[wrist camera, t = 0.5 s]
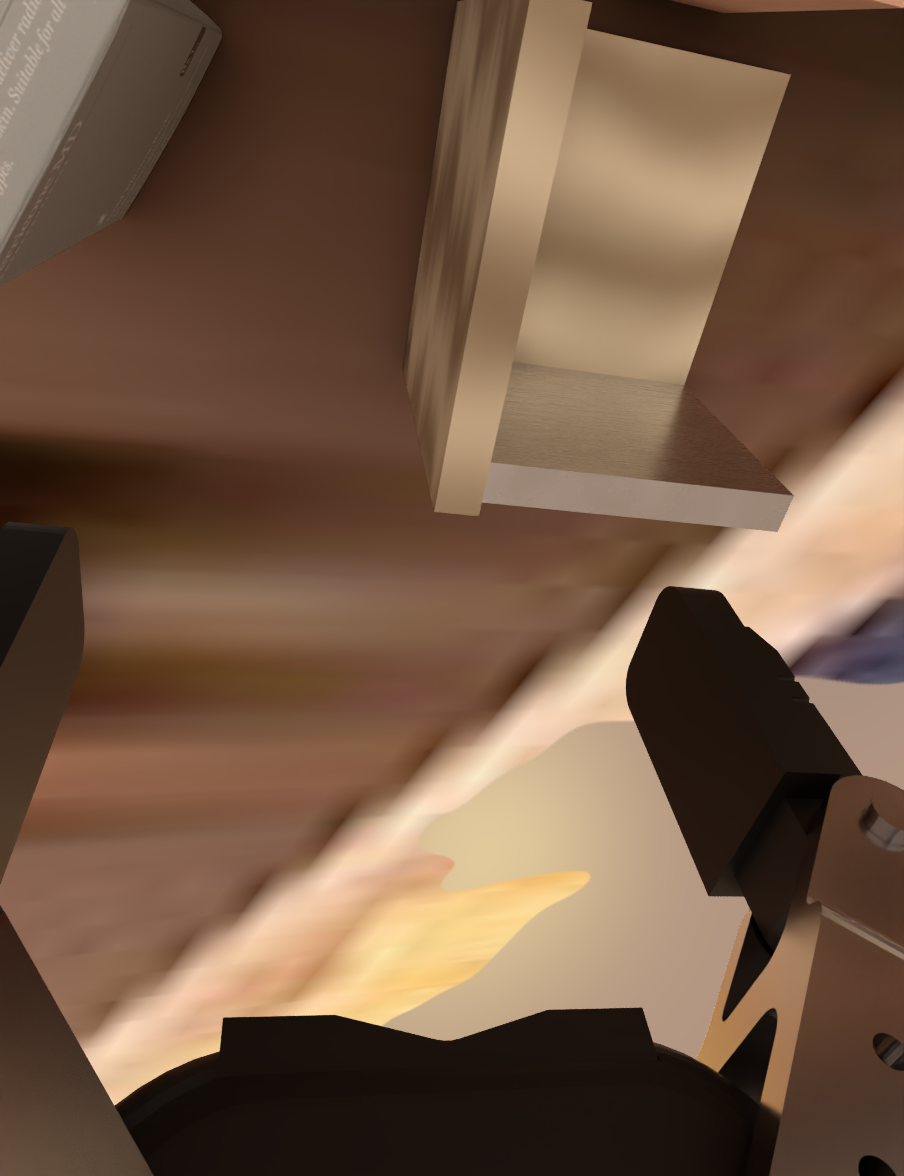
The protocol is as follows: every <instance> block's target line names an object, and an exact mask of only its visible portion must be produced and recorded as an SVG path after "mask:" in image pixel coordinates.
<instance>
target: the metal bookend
mask: <svg viewBox="0 0 904 1176" xmlns="http://www.w3.org/2000/svg"><path fill="white" fill-rule="evenodd" d="M793 496H794V495H793V494H792V493H791V492H790V491H789V490H788V489H787V488H786V487H785V486H784V485H783V484H782V483H781V482H780V481H779V480H778V479H777V478H776V477H775V476H774V475H773V474H772V473H771V472H770V471H769V470H768V469H767V468H766V467H765V466H764V465H763V464H762V463H761V462H760V461H759V460H758V459H757V458H756V457H755V456H754V455H753V454H752V453H751V452H750V451H749V450H748V449H747V448H746V447H745V446H744V445H743V444H742V443H741V442H740V441H739V440H738V439H737V438H736V437H735V436H734V435H733V434H732V433H731V432H730V431H729V430H728V429H727V428H726V427H725V426H724V425H723V424H722V423H721V422H720V421H719V420H718V419H717V418H716V417H715V416H714V415H713V414H712V413H711V412H710V411H709V410H708V409H707V408H706V407H705V406H704V405H703V404H702V403H701V401H700V400H699V399H698V398H697V397H696V396H695V395H694V394H693V393H692V392H691V391H690V390H689V389H688V388H687V387H686V386H685V385H680V384H673V383H665V382H658V381H651V380H643V379H636V378H629V377H621V376H614V375H607V374H599V373H592V372H585V371H577V370H570V369H563V368H555V367H548V366H541V365H533V364H526V363H519V362H513V364H512V368H511V373H510V377H509V382H508V386H507V391H506V396H505V400H504V405H503V409H502V414H501V418H500V423H499V427H498V432H497V436H496V441H495V445H494V450H493V454H492V459H491V463H490V468H489V472H488V477H487V481H486V486H485V490H484V495H483V499H482V502H483V503H493V504H503V505H513V506H524V507H534V508H544V509H554V510H564V511H574V512H584V513H594V514H604V515H614V516H624V517H634V518H644V519H655V520H665V521H675V522H685V523H695V524H705V525H715V526H725V527H735V528H745V529H755V530H765V531H775V532H778V529H779V527H780V525H781V523H782V521H783V518H784V516H785V514H786V512H787V510H788V507H789V505H790V503H791V501H792V499H793Z"/></svg>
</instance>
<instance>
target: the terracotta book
mask: <svg viewBox="0 0 904 1176" xmlns="http://www.w3.org/2000/svg"><path fill="white" fill-rule="evenodd" d="M671 1H675V2H680V3H684V4H688V5H692V6H696V7H701V8H705V9H709V10H713V11H717V12H722V13H742V12H778V11H814V10H849V9H885V8H904V0H671Z"/></svg>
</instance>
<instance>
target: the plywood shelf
mask: <svg viewBox="0 0 904 1176" xmlns="http://www.w3.org/2000/svg"><path fill="white" fill-rule="evenodd" d="M591 7H592V2H587V1H583V0H464V1H458V2H457V4H456V11H455V18H454V25H453V32H452V38H451V45H450V52H449V59H448V66H447V72H446V79H445V86H444V93H443V100H442V106H441V113H440V120H439V127H438V134H437V140H436V147H435V154H434V161H433V168H432V174H431V181H430V188H429V195H428V202H427V208H426V215H425V222H424V229H423V236H422V242H421V249H420V256H419V263H418V270H417V276H416V283H415V290H414V297H413V304H412V310H411V317H410V324H409V331H408V338H407V344H406V351H405V358H404V365H403V372H404V377H405V381H406V386H407V390H408V395H409V399H410V404H411V408H412V413H413V418H414V422H415V427H416V431H417V436H418V440H419V445H420V449H421V454H422V458H423V463H424V468H425V472H426V477H427V481H428V486H429V490H430V495H431V499H432V504H433V508H434V512H441V513H452V514H462V515H473V516H479V513H480V508H481V504H482V499H483V495H484V490H485V486H486V481H487V477H488V472H489V468H490V463H491V459H492V454H493V450H494V445H495V441H496V436H497V432H498V427H499V423H500V418H501V414H502V409H503V405H504V400H505V396H506V391H507V386H508V382H509V377H510V373H511V368H512V364H513V362H519V363H526V364H533V365H541V366H548V367H555V368H563V369H570V370H577V371H585V372H592V373H599V374H607V375H614V376H621V377H629V378H636V379H643V380H651V381H658V382H665V383H673V384H680V385H684V384H685V381H686V378H687V375H688V373H689V370H690V367H691V364H692V361H693V358H694V355H695V352H696V349H697V346H698V343H699V341H700V338H701V335H702V332H703V329H704V326H705V323H706V320H707V317H708V314H709V311H710V309H711V306H712V303H713V300H714V297H715V294H716V291H717V288H718V285H719V282H720V279H721V276H722V274H723V271H724V268H725V265H726V262H727V259H728V256H729V253H730V250H731V247H732V244H733V242H734V239H735V236H736V233H737V230H738V227H739V224H740V221H741V218H742V215H743V212H744V210H745V207H746V204H747V201H748V198H749V195H750V192H751V189H752V186H753V183H754V180H755V177H756V175H757V172H758V169H759V166H760V163H761V160H762V157H763V154H764V151H765V148H766V145H767V143H768V140H769V137H770V134H771V131H772V128H773V125H774V122H775V119H776V116H777V113H778V111H779V108H780V105H781V102H782V99H783V96H784V93H785V90H786V87H787V84H788V81H789V78H790V76H791V75H789V74H785V73H780V72H776V71H771V70H767V69H763V68H758V67H754V66H749V65H745V64H740V63H736V62H732V61H727V60H723V59H718V58H714V57H709V56H705V55H701V54H696V53H692V52H687V51H683V50H678V49H674V48H670V47H665V46H661V45H656V44H652V43H647V42H643V41H639V40H634V39H630V38H625V37H621V36H616V35H612V34H608V33H603V32H599V31H594V30H590V29H587V25H588V20H589V16H590V11H591Z"/></svg>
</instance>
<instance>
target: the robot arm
mask: <svg viewBox="0 0 904 1176" xmlns="http://www.w3.org/2000/svg"><path fill="white" fill-rule="evenodd" d="M83 645H84V613H83V600H82V586H81V573H80V560H79V546H78V539H77V535H76V532H75V530H74V529H73V528H68V527H58V526H47V525H37V524H26V523H16V522H8V523H6V524H5V525H4V526H3V528H2V529H1V531H0V884H1V881H2V878H3V875H4V873H5V870H6V867H7V865H8V862H9V859H10V856H11V854H12V851H13V848H14V846H15V843H16V840H17V837H18V835H19V832H20V829H21V827H22V824H23V821H24V818H25V816H26V813H27V810H28V808H29V805H30V802H31V799H32V797H33V794H34V791H35V788H36V786H37V783H38V780H39V778H40V775H41V772H42V769H43V767H44V764H45V761H46V759H47V756H48V753H49V750H50V748H51V745H52V742H53V740H54V737H55V734H56V731H57V729H58V726H59V723H60V720H61V718H62V715H63V712H64V710H65V707H66V704H67V701H68V699H69V696H70V693H71V691H72V688H73V685H74V682H75V680H76V677H77V674H78V671H79V668H80V664H81V659H82V653H83ZM794 678H795V676H794V675H793V673H792V672H791V670H790V669H789V667H788V666H787V664H786V663H785V661H784V660H783V659H782V657H781V656H780V654H779V653H778V651H777V650H776V649H774V648H773V647H772V646H771V645H770V644H769V643H767V642H766V641H765V640H764V639H763V638H761V637H760V636H759V635H758V634H757V633H756V632H754V631H753V630H752V629H751V628H750V627H744V625H743V624H742V622H741V621H740V619H739V618H738V616H737V615H736V613H735V612H734V610H733V608H732V607H731V605H730V604H729V602H728V601H727V599H726V598H725V597H724V595H723V594H722V593H721V592H719V591H716V590H705V589H695V588H684V587H674V586H669V587H666V588H665V589H663V591H662V592H661V593H660V594H659V596H658V598H657V600H656V602H655V605H654V607H653V610H652V612H651V614H650V617H649V619H648V622H647V624H646V626H645V629H644V631H643V634H642V636H641V638H640V641H639V643H638V646H637V648H636V650H635V653H634V655H633V658H632V660H631V663H630V665H629V668H628V672H627V678H626V696H627V702H628V706H629V709H630V711H631V714H632V716H633V718H634V721H635V723H636V725H637V728H638V730H639V733H640V735H641V737H642V739H643V742H644V744H645V747H646V749H647V751H648V754H649V756H650V759H651V761H652V763H653V766H654V768H655V770H656V773H657V775H658V777H659V780H660V782H661V785H662V787H663V789H664V792H665V794H666V796H667V799H668V801H669V804H670V806H671V808H672V810H673V813H674V815H675V818H676V820H677V822H678V825H679V827H680V829H681V832H682V834H683V837H684V839H685V841H686V844H687V846H688V848H689V851H690V853H691V856H692V858H693V860H694V863H695V865H696V867H697V870H698V872H699V875H700V877H701V879H702V882H703V884H704V886H705V889H706V891H707V893H708V896H744V897H745V899H746V901H747V903H748V906H749V907H750V910H749V911H748V913H747V914H746V915H745V917H744V918H743V920H742V922H741V924H740V926H739V929H738V933H737V936H736V939H735V943H734V946H733V949H732V953H731V956H730V959H729V962H728V965H727V969H726V972H725V975H724V979H723V982H722V985H721V989H720V992H719V995H718V999H717V1002H716V1005H715V1009H714V1012H713V1015H712V1018H711V1021H710V1025H709V1028H708V1031H707V1034H706V1037H705V1040H704V1042H703V1045H702V1047H701V1050H700V1052H699V1054H698V1056H697V1058H696V1059H693V1058H692V1057H690V1056H688V1055H686V1054H684V1053H681V1052H679V1051H676V1050H674V1049H671V1048H669V1047H666V1046H664V1045H661V1044H657V1043H654V1042H653V1041H652V1038H651V1035H650V1031H649V1028H648V1025H647V1021H646V1018H645V1015H644V1012H643V1009H642V1008H610V1009H566V1010H546V1011H543V1012H540V1013H537V1014H534V1015H531V1016H528V1017H525V1018H521V1019H518V1020H516V1021H512V1022H509V1023H506V1024H503V1025H500V1026H497V1027H494V1028H491V1029H488V1030H485V1031H482V1032H479V1033H475V1034H472V1035H469V1036H467V1037H463V1038H460V1039H456V1040H452V1041H442V1040H436V1039H431V1038H427V1037H423V1036H419V1035H415V1034H411V1033H406V1032H403V1031H399V1030H394V1029H390V1028H386V1027H382V1026H378V1025H374V1024H370V1023H366V1022H362V1021H357V1020H353V1019H349V1018H345V1017H341V1016H337V1015H315V1016H273V1017H232V1018H223V1025H222V1035H221V1045H220V1051H219V1052H216V1053H213V1054H210V1055H207V1056H204V1057H200V1058H197V1059H194V1060H192V1061H190V1062H187V1063H185V1064H183V1065H181V1066H178V1067H176V1068H174V1069H172V1070H169V1071H167V1072H165V1073H164V1074H162V1075H160V1076H158V1077H157V1078H155V1079H153V1080H152V1081H150V1082H148V1083H146V1084H145V1085H143V1086H141V1087H140V1088H138V1089H137V1090H135V1091H134V1092H133V1093H131V1094H130V1095H129V1096H127V1097H126V1098H125V1099H123V1100H122V1101H121V1102H119V1103H118V1104H116V1105H115V1106H114V1105H113V1103H112V1101H111V1099H110V1097H109V1096H108V1094H107V1092H106V1090H105V1089H104V1087H103V1085H102V1083H101V1082H100V1080H99V1078H98V1076H97V1074H96V1073H95V1071H94V1069H93V1067H92V1066H91V1064H90V1062H89V1060H88V1058H87V1057H86V1055H85V1053H84V1051H83V1050H82V1048H81V1046H80V1044H79V1043H78V1041H77V1039H76V1037H75V1035H74V1034H73V1032H72V1030H71V1028H70V1027H69V1025H68V1023H67V1021H66V1020H65V1018H64V1016H63V1014H62V1012H61V1011H60V1009H59V1007H58V1005H57V1004H56V1002H55V1000H54V998H53V997H52V995H51V993H50V991H49V989H48V988H47V986H46V984H45V982H44V981H43V979H42V977H41V975H40V973H39V972H38V970H37V968H36V966H35V965H34V963H33V961H32V959H31V958H30V956H29V954H28V952H27V950H26V949H25V947H24V945H23V943H22V942H21V940H20V938H19V936H18V935H17V933H16V931H15V929H14V927H13V926H12V924H11V922H10V920H9V919H8V917H7V915H6V914H5V912H4V911H3V909H2V908H1V906H0V1176H904V790H902V789H900V788H899V787H897V786H895V785H892V784H890V783H888V782H886V781H883V780H880V779H877V778H873V777H868V776H863V775H862V774H861V773H860V771H859V770H858V768H857V767H856V765H855V764H854V762H853V761H852V759H851V758H850V756H849V755H848V754H847V752H846V751H845V749H844V748H843V746H842V745H841V744H840V742H839V740H838V739H837V737H836V736H835V735H834V733H833V732H832V730H831V729H830V727H829V726H828V724H827V723H826V721H825V720H824V718H823V717H822V716H821V714H820V713H819V711H818V710H817V708H816V707H815V705H814V704H812V703H809V697H808V695H807V694H806V692H805V691H804V689H803V688H802V686H801V685H800V683H799V682H795V681H794Z"/></svg>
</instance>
